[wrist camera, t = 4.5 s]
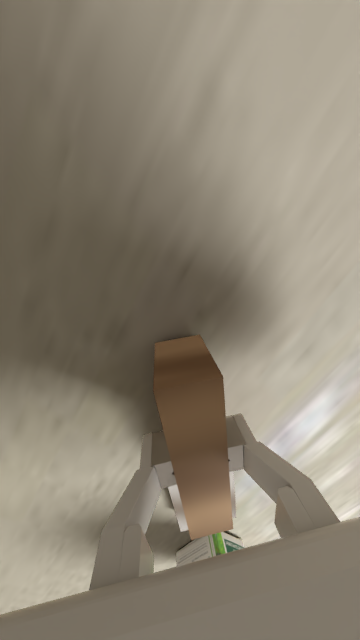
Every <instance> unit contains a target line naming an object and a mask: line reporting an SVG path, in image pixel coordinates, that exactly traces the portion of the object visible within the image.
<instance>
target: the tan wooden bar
mask: <svg viewBox="0 0 360 640" xmlns="http://www.w3.org/2000/svg"><path fill="white" fill-rule="evenodd" d="M153 392H154V396H155V400H156V404H157V408H158V411H159V415H160V419H161V423H162V427H163V431H164V435H165V439H166V443H167V447H168V451H169V455H170V459H171V463H172V467H173V471H174V475H175V479H176V482H177V485H173V486H170V487H168V489H169V493H170V496H171V500H172V503H173V507H174V510H175V514H176V517H177V521H178V524H179V527H180V531H181V532H182V531H186V530H189V534H190V538H191V540H193V539H197V538H201V537H205V536H208V535H212V534H216V533H220V532H224V531H227V530H231V529H233V521H232V518H236V506H235V486H234V471H231V472H229V461H228V446H227V431H226V415H225V400H224V385H223V376H222V374H221V372H220V370H219V369H218V367H217V365H216V363H215V361H214V360H213V358H212V356H211V354H210V352H209V351H208V349H207V347H206V345H205V343H204V341H203V340H202V338H201V336H200V335H195V336H189V337H184V338H179V339H173V340H168V341H162V342H157V343H155V356H154V384H153Z"/></svg>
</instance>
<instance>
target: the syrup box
mask: <svg viewBox="0 0 360 640" xmlns="http://www.w3.org/2000/svg"><path fill="white" fill-rule="evenodd" d="M243 548H245V547H244V544H243V541H242V539H241V538H235V537H233V536H231V535H229V534H227V533H224V532H220V533H216V534H212V535H208V536H205V537H201V538H197V539H195V540H193V541H192V542H190V543H189V544H188V545H186V546H185V547H183V548H182V549H180V550H179V551H178V552H176V562H177V566H181V565H185V564H188V563H192V562H196V561H199V560H203V559H207V558H210V557H214V556H218V555H221V554H225V553H229V552H232V551H236V550H240V549H243Z"/></svg>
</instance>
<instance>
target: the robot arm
mask: <svg viewBox="0 0 360 640" xmlns="http://www.w3.org/2000/svg"><path fill="white" fill-rule="evenodd" d="M226 431H227V446H228V461H229V472H231V471H236V470H241V469H244V470H245V471H246V472H247V473H248V474H249V475H250V476H251V478H252V479H253V480H254V481H255V482H256V483H257V484H258V485H259V486H260V487H261V488H262V489H263V490H264V491H265V492H266V493H267V494H268V495H269V497H270V498H271V499H272V500H273V501H274V502H275V503H276V504H277V505H276V514H275V522H274V523H275V525H276V528H277V530H278V532H279V534H280V537H281V538H280V539H276V540H273V541H269V542H265V543H262V544H258V545H254V546H251V547H247V548H243V549H240V550H236V551H232V552H229V553H225V554H221V555H218V556H214V557H210V558H207V559H203V560H199V561H196V562H192V563H188V564H185V565H181V566H177V567H174V568H170V569H166V570H163V571H159V572H155V573H154V555H153V553H152V550H151V548H150V546H149V543H148V541H147V539H146V537H145V534H146V531H147V528H148V526H149V523H150V520H151V517H152V515H153V512H154V509H155V507H156V504H157V501H158V498H159V496H160V493H161V489H162V488H166V487H170V486H173V485H177V482H176V479H175V475H174V471H173V467H172V463H171V459H170V455H169V451H168V447H167V443H166V439H165V435H164V431H159V432H154V433H149V434H144V435H143V438H142V449H141V460H140V469H139V470H137V471H136V472H135V474H134V476H133V478H132V479H131V481H130V483H129V485H128V486H127V488H126V490H125V491H124V493H123V495H122V497H121V498H120V500H119V502H118V504H117V505H116V507H115V509H114V511H113V512H112V514H111V516H110V518H109V519H108V521H107V523H106V525H105V526H104V528H103V530H102V532H101V536H100V541H99V546H98V550H97V555H96V560H95V565H94V569H93V574H92V579H91V583H90V588H89V591H86V592H82V593H78V594H75V595H71V596H67V597H64V598H60V599H56V600H53V601H49V602H45V603H42V604H38V605H34V606H31V607H27V608H23V609H20V610H16V611H12V612H9V613H5V614H1V615H0V640H360V517H357V518H353V519H350V520H346V521H342V522H340V521H339V519H338V518H337V516H336V515H335V514H334V512H333V511H332V509H331V508H330V506H329V505H328V503H327V502H326V501H325V499H324V498H323V496H322V495H321V493H320V492H319V490H318V489H317V488H316V486H315V485H314V483H313V482H312V480H311V479H310V478H308V477H307V476H306V475H304V474H303V473H302V472H300V471H299V470H297V469H296V468H295V467H293V466H292V465H291V464H289V463H288V462H287V461H285V460H284V459H283V458H281V457H280V456H279V455H277V454H276V453H274V452H273V451H272V450H270V449H269V448H268V447H266V446H265V445H264V444H262V443H261V442H257V441H256V439H255V438H254V436H253V434H252V432H251V430H250V428H249V427H248V425H247V423H246V421H245V419H244V417H243V416H242V414H236V415H230V416H226Z"/></svg>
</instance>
